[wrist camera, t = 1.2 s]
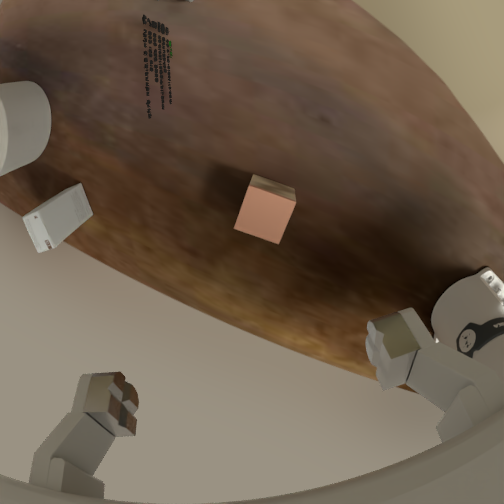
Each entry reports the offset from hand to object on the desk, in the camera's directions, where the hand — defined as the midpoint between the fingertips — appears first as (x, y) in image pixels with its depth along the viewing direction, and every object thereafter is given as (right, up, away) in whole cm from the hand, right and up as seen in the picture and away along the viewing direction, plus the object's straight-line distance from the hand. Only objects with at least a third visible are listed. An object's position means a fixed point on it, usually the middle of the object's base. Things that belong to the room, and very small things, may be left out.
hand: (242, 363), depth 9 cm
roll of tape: (-40, +26, +31) cm, 57 cm away
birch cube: (+2, +11, +34) cm, 36 cm away
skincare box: (-28, +12, +37) cm, 48 cm away
